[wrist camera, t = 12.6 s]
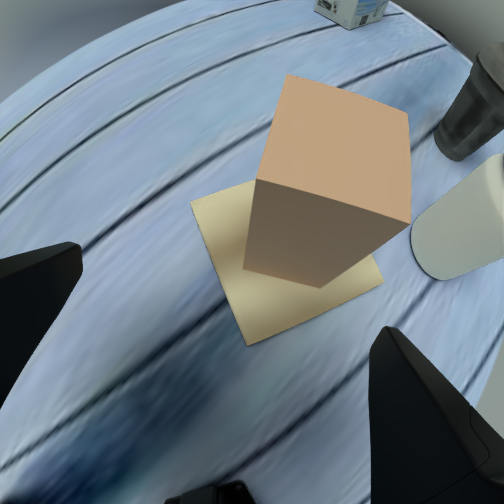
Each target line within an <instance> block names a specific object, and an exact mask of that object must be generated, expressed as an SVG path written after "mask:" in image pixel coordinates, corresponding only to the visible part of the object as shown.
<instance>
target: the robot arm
mask: <svg viewBox="0 0 504 504" xmlns="http://www.w3.org/2000/svg"><path fill="white" fill-rule="evenodd" d="M82 272H83V262H82V249H81V246H80V245H79V244H76V243H73V242H64V243H60V244H56V245H52V246H48V247H44V248H40V249H36V250H33V251H29V252H25V253H21V254H17V255H14V256H10V257H7V258H3V259H0V409H1V407H2V405H3V403H4V402H5V400H6V398H7V396H8V394H9V392H10V391H11V389H12V387H13V385H14V384H15V382H16V380H17V379H18V377H19V375H20V373H21V372H22V370H23V368H24V367H25V365H26V364H27V362H28V360H29V359H30V357H31V355H32V354H33V352H34V351H35V349H36V348H37V346H38V345H39V343H40V341H41V340H42V338H43V337H44V335H45V334H46V332H47V331H48V329H49V328H50V326H51V325H52V324H53V322H54V321H55V319H56V318H57V316H58V315H59V313H60V311H61V310H62V308H63V306H64V305H65V303H66V301H67V299H68V298H69V296H70V294H71V292H72V291H73V289H74V287H75V286H76V284H77V282H78V281H79V279H80V277H81V275H82ZM368 401H369V420H370V444H371V504H504V439H503V438H502V437H501V436H500V435H499V434H498V433H497V432H496V431H495V430H494V429H493V428H492V427H491V426H490V425H489V424H488V423H487V422H486V421H485V420H484V419H483V418H482V416H481V415H480V414H479V413H478V412H477V411H476V410H475V409H474V408H473V407H472V406H471V405H470V403H469V402H468V401H467V400H466V399H465V398H464V397H463V396H462V395H461V394H460V393H459V391H458V390H457V389H456V388H455V387H454V386H453V385H452V384H451V383H450V382H449V381H448V380H447V379H446V378H445V377H444V375H443V374H442V373H441V372H440V371H439V370H438V369H437V368H436V367H435V366H434V365H433V364H432V363H431V362H430V361H429V360H428V359H427V358H426V357H425V356H424V355H423V354H422V353H421V352H420V351H419V350H418V349H417V347H416V346H415V345H414V344H413V343H412V342H411V341H410V340H409V339H408V338H407V337H406V336H405V335H404V334H403V333H402V332H401V331H400V330H399V329H397V328H394V327H389V326H385V327H383V328H382V330H381V331H380V333H379V334H378V336H377V338H376V339H375V341H374V343H373V344H372V346H371V349H370V353H369V390H368ZM237 485H241V486H242V488H239V489H238V488H236V486H237ZM164 504H257V503H256V502H255V500H254V498H253V496H252V495H251V493H250V491H249V489H248V488H247V486H246V484H245V483H244V482H243V481H240V480H238V481H234V482H231V483H228V484H225V485H221V486H218V487H216V486H210V487H206V488H202V489H199V490H195V491H191V492H187V493H183V494H182V496H180V497H176V498H171V499H167V500H166V501H165V503H164Z"/></svg>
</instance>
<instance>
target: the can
mask: <svg viewBox="0 0 504 504" xmlns="http://www.w3.org/2000/svg"><path fill="white" fill-rule="evenodd" d="M411 243H412V248H413V252H414V255H415V257H416V259H417V261H418V263H419V265H420V266H421V267H422V268H423V270H424V271H425V272H426V273H428V274H429V275H430V276H432V277H433V278H436V279H439V280H449V279H452V278H455V277H458V276H461V275H463V274H466V273H468V272H471V271H473V270H476V269H478V268H480V267H483V266H485V265H488V264H490V263H492V262H495V261H497V260H499V259H501V258H504V154H496V155H493V156H491V157H489V158H488V159H487V160H485V161H484V162H483V163H482V164H481V165H479V166H478V167H477V168H476V169H475V170H474V171H472V172H471V173H470V174H469V175H468V176H467V177H465V178H464V179H463V180H462V181H461V182H459V183H458V184H457V185H456V186H455V187H453V188H452V189H451V190H450V191H449V192H447V193H446V194H445V195H444V196H443V197H441V198H440V199H439V200H438V201H436V202H435V203H434V204H433V205H431V206H430V207H429V208H428V209H427V210H425V211H424V212H423V213H422V214H421V215H420V216H419V217H418V218H417V219H416V220H415V222H414V224H413V226H412V231H411Z"/></svg>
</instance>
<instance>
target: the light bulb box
mask: <svg viewBox="0 0 504 504" xmlns="http://www.w3.org/2000/svg"><path fill="white" fill-rule="evenodd" d="M388 2H389V0H316V4H315V9H314V11H316V12H318V13H320V14H321V15H323V16H325V17H327V18H329V19H331V20H332V21H334V22H336V23H338V24H339V25H341V26H343V27H344V28H346V29H348V30H350V29H353V28H356V27H360V26H363V25H366V24H370V23H373V22H376V21H380V20H381V19H382V17H383V14H384V12H385V9H386V7H387V4H388Z"/></svg>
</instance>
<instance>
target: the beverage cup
mask: <svg viewBox="0 0 504 504" xmlns="http://www.w3.org/2000/svg"><path fill="white" fill-rule="evenodd" d="M503 129H504V43H503V42H500V43H499V42H498V43H493V44H491V45H488V46H487V47H485V48H484V49H483V50H482V51H481V52H479V53H478V54H477V55H476V60H475V62H474V64H473V66H472V68H471V71H470V75H469V77H468V79H467V80H466V82H465V84H464V85H463V87H462V89H461V90H460V92H459V94H458V95H457V97H456V99H455V100H454V102H453V103H452V105H451V107H450V108H449V110H448V111H447V113H446V114H445V116H444V118H443V119H442V121H441V122H440V125H439V126H438V128H437V130H436V131H435V132H434V138H435V142H436V144H437V146H438V148H439V149H440V150H441V152H442V153H443V154H444V155H445V156H447V157H448V158H450V159H451V160H454V161H461V160H463V159H464V158H465V157H467V156H469V155H470V154H472V153H473V152H475V151H476V150H477V149H479V148H480V147H481V146H483V145H484V144H485V143H486V142H488V141H489V140H490V139H492V138H493V137H494V136H496V135H497V134H498V133H499V132H501V131H502V130H503Z"/></svg>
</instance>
